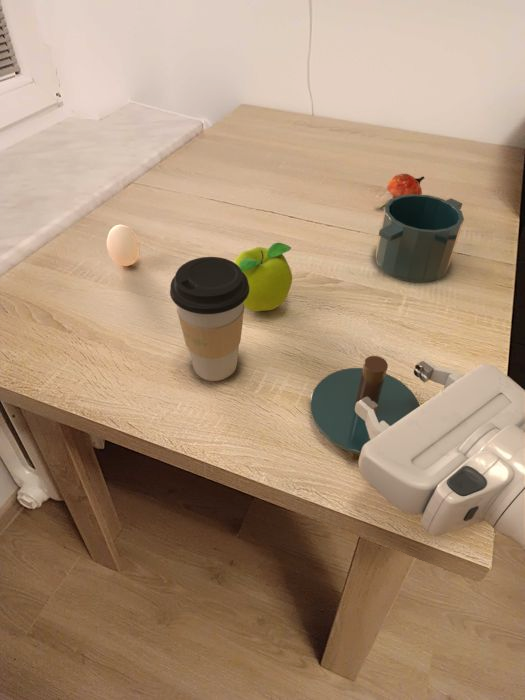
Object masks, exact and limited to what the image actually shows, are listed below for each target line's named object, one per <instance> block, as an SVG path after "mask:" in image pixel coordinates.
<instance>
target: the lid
mask: <svg viewBox="0 0 525 700" xmlns="http://www.w3.org/2000/svg"><path fill="white" fill-rule="evenodd" d="M388 365H389V364H388V362H387V360H386V359H384V358H383V357H381V356H378V355H370V356H368V357H366V358H365V359H364V361H363V366H362V367H352V368H344V369H341V370H340V369H339V370H337V371H335V372H332V373H330V374H328V375H326V376H325V377H324V378H322V379H321V380H320V381H319V382H318V383H317V385H316V386H315V387H314V389H313V391H312V394H311V396H310V404H309V409H310V410H309V411H310V414H311V419H312V421H313V423H314V426H315V427H316V429H317V430H318V431H319V433H320V434H321V435H322V436H323V437H324V438H325V439H326V440H327V441H328V442H330V444H333V446H336V447H337V448H338V449H339V448H340V449H341V450H344V451H345V452H347V451H348V452H351V453H354V454H358V455H360V453H361V450H362V447H363V445H364V444H366V443H367V442H368V441H370V440H371V439H370V437H369V434H368V431H367V427H366V424H365V421H364V420H363V419H362V418H361V417H360V416H359V415H358V414H356V412H355V405H356V403H357V402H358V401H360V400H361V399H363V398H365V397H369V398H370V399H371V401H374V402H375V403H376V404H377V405H378V408H377V410H376V417H377V420H378V422H379V423H380V422H381V421H385V422H386V423H387V424H388V425H389V426H392V425H393V424H395V423H396V422H397V421H399V420H400V419H402V418H403V417H405V416H406V415H408V414H409V413H410V412H412V411H413V410H415V409H416V408H418V407H419V406H421V405H420V402H419V400H418V399H417V397H416V396H415V394H414V393H413V391H412V390H411V389H410V388H409V387H408V386H407V385H406V384H405V383H404V382H402V381H401V380H400V379H397V378H396V377H394V376H392V375H390V374H388V373H387V372H388V368H389V367H388ZM348 452H347V453H348Z"/></svg>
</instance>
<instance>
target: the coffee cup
mask: <svg viewBox="0 0 525 700" xmlns="http://www.w3.org/2000/svg"><path fill="white" fill-rule="evenodd" d="M248 294H249V284H248V280H247V277H246V276H245V274H244V273H243V272H242V271H241V269H240V267H239V266H238V265H237V264H235V263H234V261H232V260H230V259H228V258H224V257H220V256H219V257H218V256H202V257H197V258H194V259H191V260H189V261H187V262H185V263H183V264H182V265H181V266H179V268H178V269H177V270H176V272H175V275H174V276H173V278H172V279H171V282H170V287H169V296H170V298H171V300H172V301H173V303H174V304H175V305H176V313H177V316H178V321H179V324H180V328H181V331H182V335H183V339H184V342H185V345H186V347H187V349H188V353H189V357H190V360H191V364H192V367H193V370H194V372H195V373H196V374H197V376H198V377H200V378H201V379H204V380H206V381H210V382H220V381H223V380H225V379H227V378H229V377H230V376H231V375H233V374H234V372H235V371H236V369H237V365H238V358H239V350H240V344H241V341H242V331H243V323H244V314H245V313H244V312H245V306H244V304H243V302H244V301H245V299H246V298H247V296H248Z"/></svg>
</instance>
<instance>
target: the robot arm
mask: <svg viewBox="0 0 525 700" xmlns="http://www.w3.org/2000/svg"><path fill="white" fill-rule="evenodd" d="M413 375H414V376H415V377H416V378H419V380H420V381H421V382H423V384H424V383H425V384H426V382H428V381H431V382H434V383H437V384H438V385H439V384H440V385H443V386H444V387H443V389H442V390H441V391H439V392H437V394H435V395H434V396H432V397H430V398H429V399H428V400H427V401H425V402H424V403H422V404H421V405H420V406H419V407H418V408H416V409H415V410H413V411H412V412H410V413H409V414H408V415H406V416H405V417H403V418H402V419H400V420H399V421H397V422H396V423H395V424H393V425H392V426H389V425H388V424H387V423H386V422H385V421H381V422H380V423H379V422H378V420H377V417H376V410H377V408H378V405H377V404H376V403H375V402H374V401H371V399H370V398H369V397H365V398H363V399H361V400H360V401H358V402H357V403H356V405H355V412H356V414H358V415H359V416H360V417H361V418H362V419H363V420H364V421H365V424H366V427H367V431H368V434H369V437H370V439H371V440H370V441H368V442H367V443H366V444H364V445H363V447H362V450H361V453H360V456H359V457H358V462H357V463H358V470H359V474H360V476H361V477H362V478H363V479H364V480H365V481H366V483H368V484H369V485H370V486H371V487H372V488H373V489H374V490H375V491H376V492H377V493H378V494H380V496H382V497H383V498H384V499H385V500H387V501H388V502H389V503H390V504H391V505H393V506H394V507H395V508H397V509H398V510H400V511H402V512H403V513H405V514H408V515H412V516H420V515H422V516H421V519H420V524H421V526H422V527H423V529H424V530H425V531H426V532H427V533H428V534H429V535H431V536H433V537H441V536H444V535H446V534H449V533H452V532H455V531H457V530H458V531H459V530H461V529H463V528H467V527H469V526H473V525H476V524H479V523H482V522H486V523H487V524H488V525H489V526H490V527H491V528H492V529H494V530H495V531H496V532H497V533H499V534H500V535H502V536H504V537H506V538H508V539H510V540H512V541H513V542H515V543H516V544H517V545H518V546H520V548H522V550H524V551H525V389H524V388H522V387H521V385H519V384H518V383H517V382H516V381H515V380H513V378H511V377H510V376H508V375H507V374H506V373H505V372H503V371H502V370H500V369H499V368H497V366H494V365H491V364H486V363H480V364H478V365H477V366H475V367H474V368H472V369H471V370H470V371H468V372H466V373H465V374H464V375H463V374H462V373H460V372H459V371H458V370H456V369H451V368H446V367H442V366H437V365H436V364H434V363H432V362H431V361H430V360H428V359H425V358H424V359H423V360H421V361H420V362H418V363H417V364H415V366H414V369H413Z"/></svg>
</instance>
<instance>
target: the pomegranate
mask: <svg viewBox="0 0 525 700" xmlns="http://www.w3.org/2000/svg"><path fill="white" fill-rule="evenodd" d="M423 180H425V176H423V175H422V176H421V177H419V178H418V177H417V178H416V177H414V176H413V175H410V174H409V173H399V174H396V175H394V176H392V177H391V180H390V181H388V184H387V187H386V188H387V191H388V192H389V193H390V195H391V197H392V199H393V198H395V197H398V196H402V195H410V194H418V195H423V191H422V190H423V189H422V187H421V182H422V181H423ZM386 204H387V203H385V204H384V205H382V206H381V207H379V210H381V209H384V207H385V205H386Z"/></svg>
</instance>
